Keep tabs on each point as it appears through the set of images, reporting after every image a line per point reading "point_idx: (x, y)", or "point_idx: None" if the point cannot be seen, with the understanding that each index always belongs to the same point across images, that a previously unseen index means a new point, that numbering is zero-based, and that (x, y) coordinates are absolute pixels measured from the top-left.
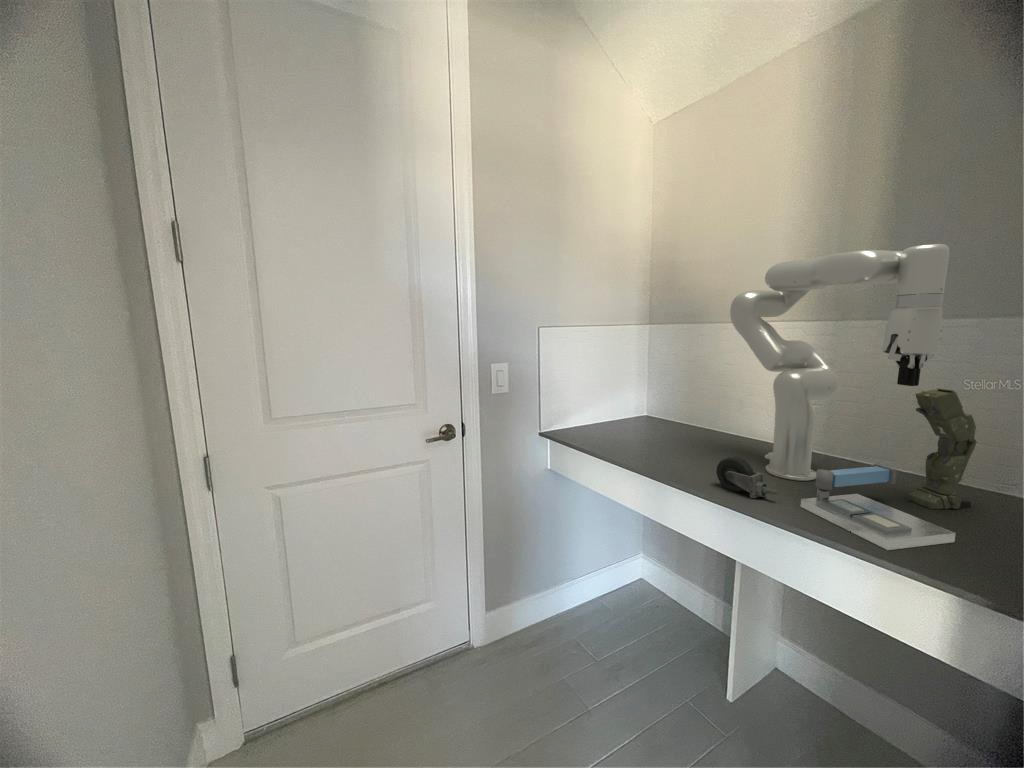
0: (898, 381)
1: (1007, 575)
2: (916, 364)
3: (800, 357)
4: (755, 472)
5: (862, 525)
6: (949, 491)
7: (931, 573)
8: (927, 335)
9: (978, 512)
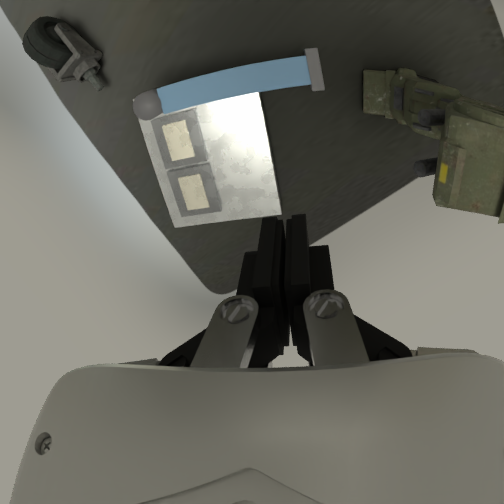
0: (263, 228)
1: None
2: (307, 360)
3: None
4: (71, 50)
5: (169, 190)
6: (401, 120)
7: (191, 259)
8: None
9: None
